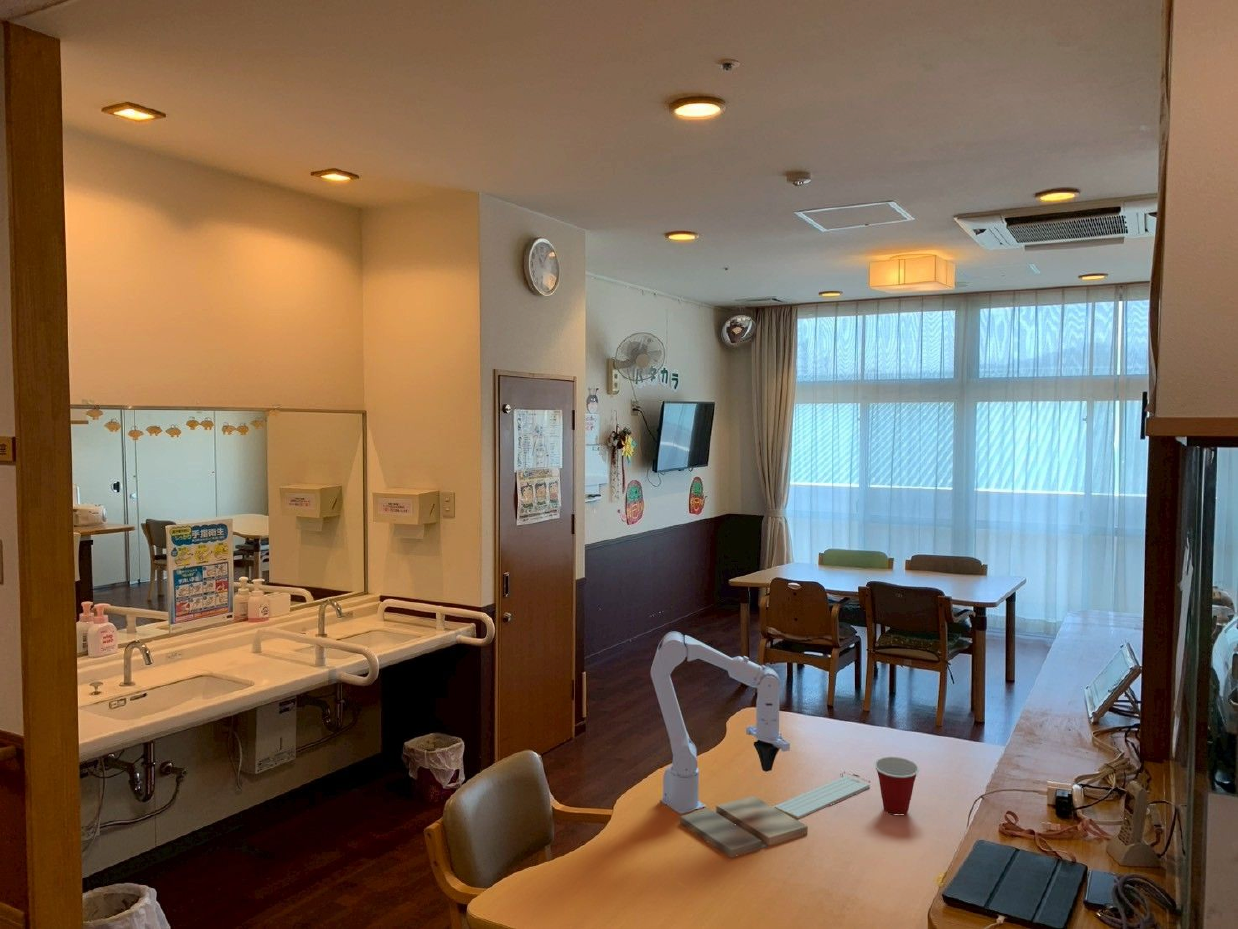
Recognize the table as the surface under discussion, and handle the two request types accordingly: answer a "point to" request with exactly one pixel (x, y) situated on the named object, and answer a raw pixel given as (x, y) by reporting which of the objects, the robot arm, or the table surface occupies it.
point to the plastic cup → (896, 783)
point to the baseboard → (822, 796)
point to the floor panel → (721, 832)
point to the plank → (762, 820)
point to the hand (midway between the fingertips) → (766, 770)
